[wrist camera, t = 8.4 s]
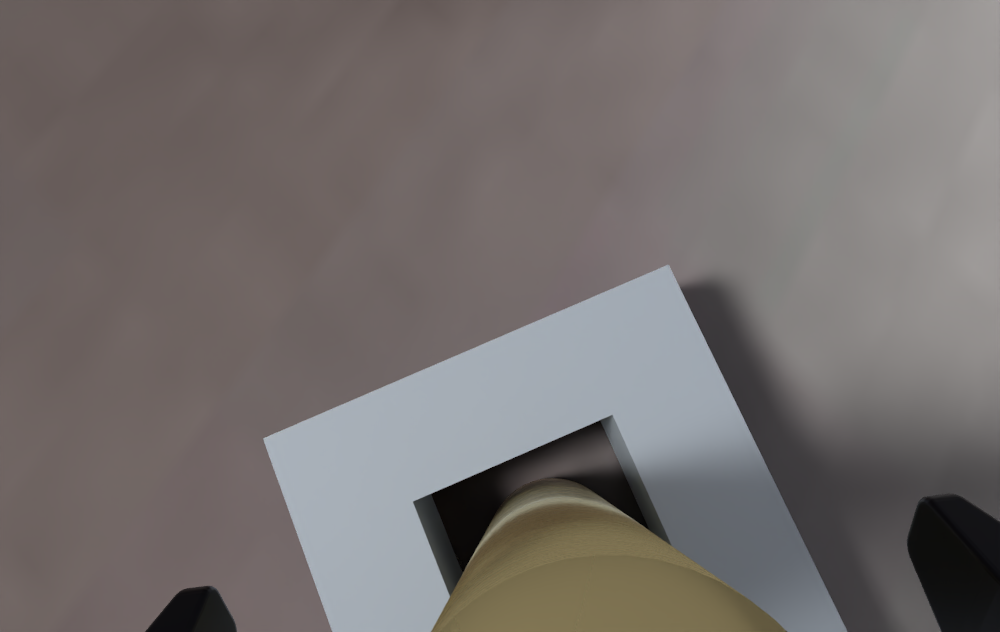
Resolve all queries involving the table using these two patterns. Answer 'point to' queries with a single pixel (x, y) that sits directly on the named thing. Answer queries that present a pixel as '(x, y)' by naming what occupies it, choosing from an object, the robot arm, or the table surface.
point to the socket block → (530, 424)
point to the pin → (587, 574)
